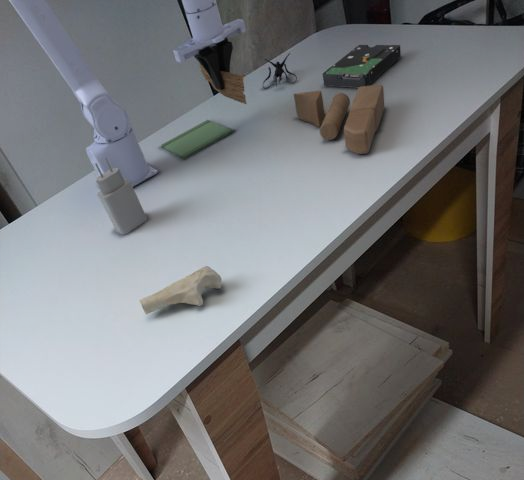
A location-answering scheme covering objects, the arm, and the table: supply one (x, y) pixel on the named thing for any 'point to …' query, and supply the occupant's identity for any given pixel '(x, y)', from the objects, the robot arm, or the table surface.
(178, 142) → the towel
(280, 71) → the creature
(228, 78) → the wood plank
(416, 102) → the table surface
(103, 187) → the power adapter
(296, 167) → the table surface
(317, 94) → the wooden block set
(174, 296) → the bone fragment
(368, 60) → the disk drive
